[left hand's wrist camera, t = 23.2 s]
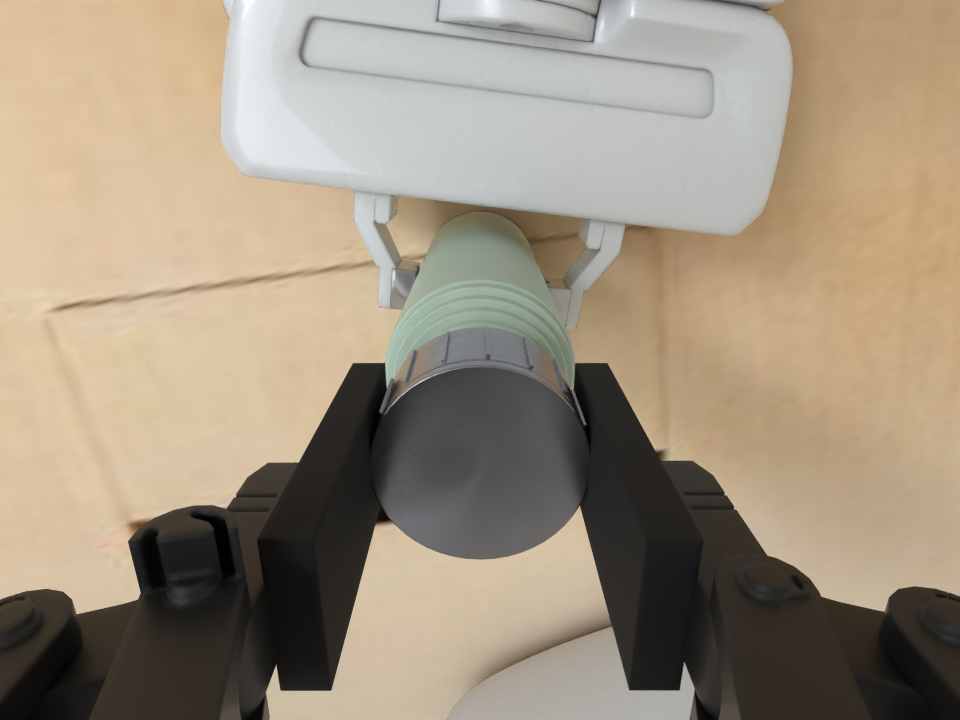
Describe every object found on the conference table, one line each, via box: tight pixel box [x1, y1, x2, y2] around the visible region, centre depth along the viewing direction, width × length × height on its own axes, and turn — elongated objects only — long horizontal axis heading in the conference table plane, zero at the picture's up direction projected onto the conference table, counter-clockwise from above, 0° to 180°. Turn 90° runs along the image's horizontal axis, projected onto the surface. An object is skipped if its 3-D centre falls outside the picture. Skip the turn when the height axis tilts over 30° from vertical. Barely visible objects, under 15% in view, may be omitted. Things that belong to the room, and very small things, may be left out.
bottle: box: [385, 211, 575, 390], centre depth 22 cm, size 5×5×19 cm
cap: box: [370, 326, 590, 559], centre depth 13 cm, size 5×5×2 cm
